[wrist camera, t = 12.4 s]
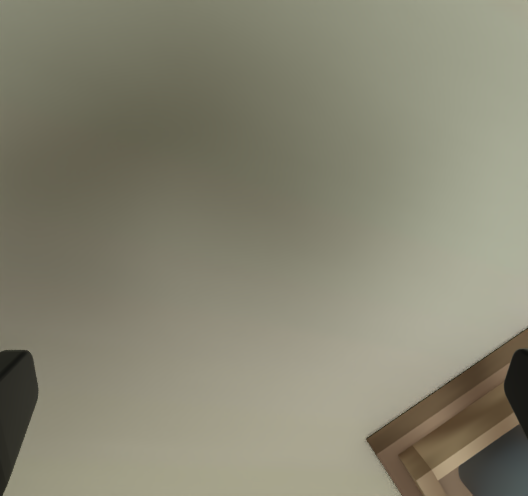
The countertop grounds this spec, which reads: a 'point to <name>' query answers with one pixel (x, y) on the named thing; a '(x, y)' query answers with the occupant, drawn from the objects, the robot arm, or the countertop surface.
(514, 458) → the tall blue cylinder
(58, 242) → the countertop surface
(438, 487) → the cradle
